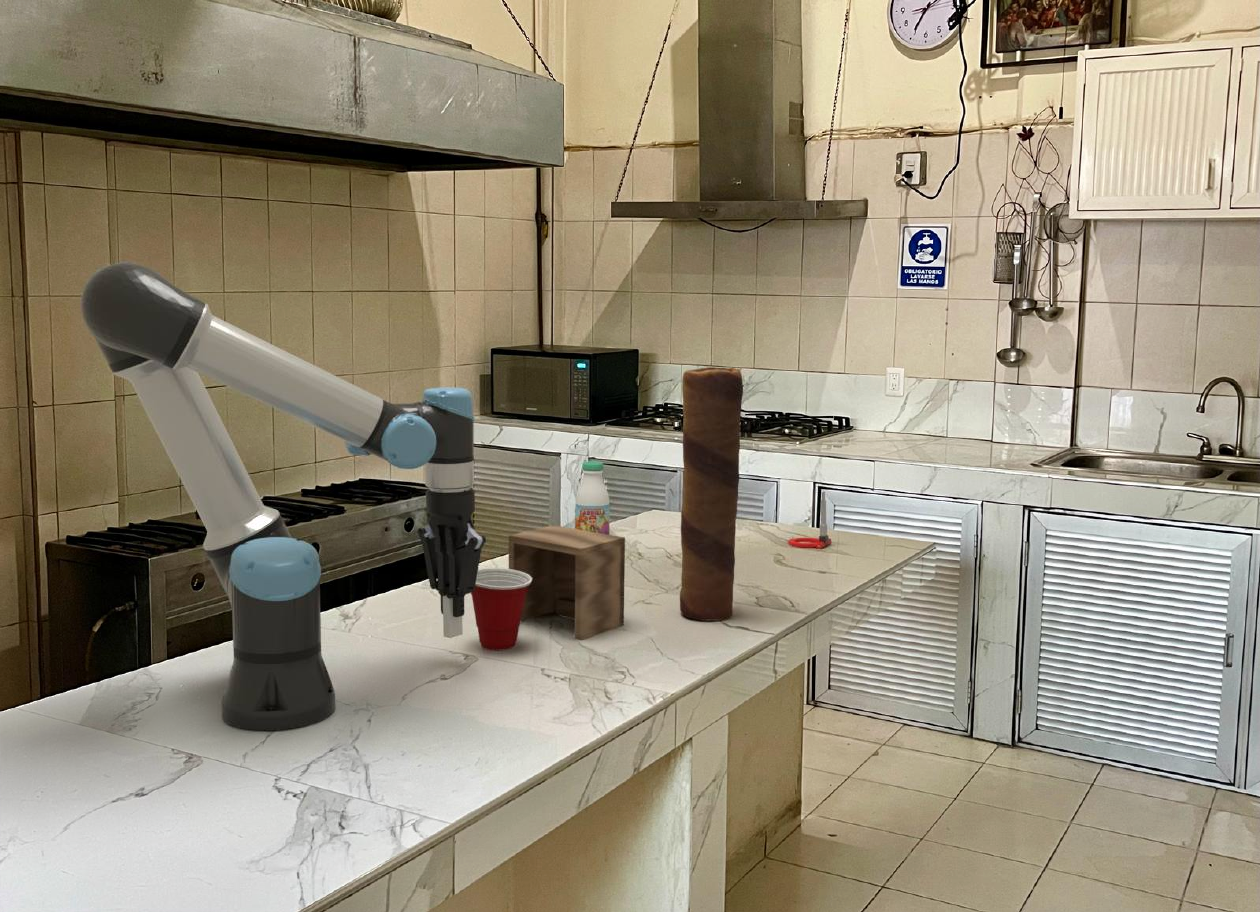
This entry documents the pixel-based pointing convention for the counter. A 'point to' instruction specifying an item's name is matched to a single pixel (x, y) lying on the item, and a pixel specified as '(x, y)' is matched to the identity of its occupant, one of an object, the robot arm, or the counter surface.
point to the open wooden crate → (572, 576)
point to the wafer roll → (709, 490)
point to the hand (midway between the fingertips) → (453, 635)
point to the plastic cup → (499, 606)
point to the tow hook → (823, 537)
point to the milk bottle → (592, 500)
